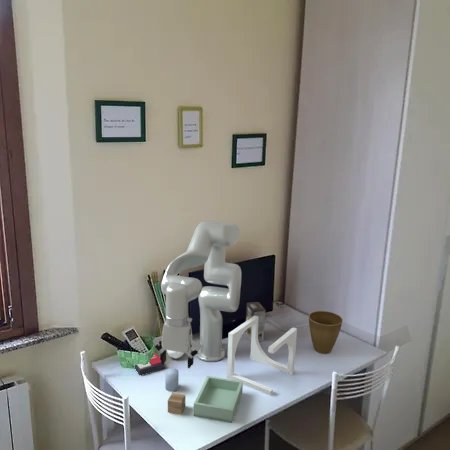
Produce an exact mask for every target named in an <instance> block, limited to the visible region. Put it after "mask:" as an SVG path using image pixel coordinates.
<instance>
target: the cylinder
mask: <svg viewBox="0 0 450 450" xmlns="http://www.w3.org/2000/svg"><path fill="white" fill-rule="evenodd" d="M179 373H180V372H179V369H177V368H173V367H170V368H167V369H166V370H165V375H164V376H165V379H164V380H165V381H164V382H165V390H166V391H168V392H169V393H171V392H173V393H175V392H176V391H178V390H179V381H180V380H179V375H180V374H179Z"/></svg>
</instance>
